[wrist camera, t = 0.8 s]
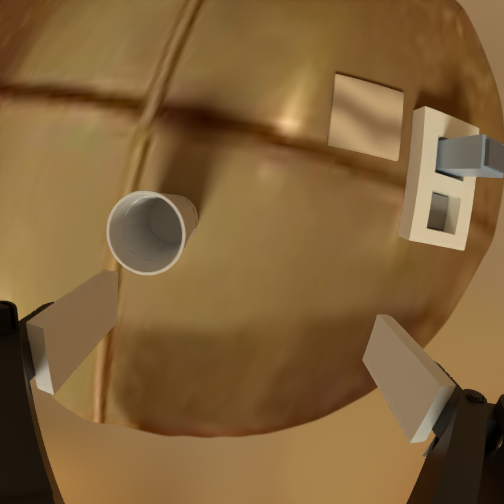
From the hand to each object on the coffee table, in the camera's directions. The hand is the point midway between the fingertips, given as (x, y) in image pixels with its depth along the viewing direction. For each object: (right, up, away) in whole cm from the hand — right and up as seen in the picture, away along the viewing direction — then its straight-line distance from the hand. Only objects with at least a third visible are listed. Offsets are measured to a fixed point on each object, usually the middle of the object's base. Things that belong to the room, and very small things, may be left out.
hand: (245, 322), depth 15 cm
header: (+27, +14, +24) cm, 38 cm away
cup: (-10, +8, +25) cm, 28 cm away
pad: (+15, +21, +22) cm, 34 cm away
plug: (+27, +17, +23) cm, 39 cm away
